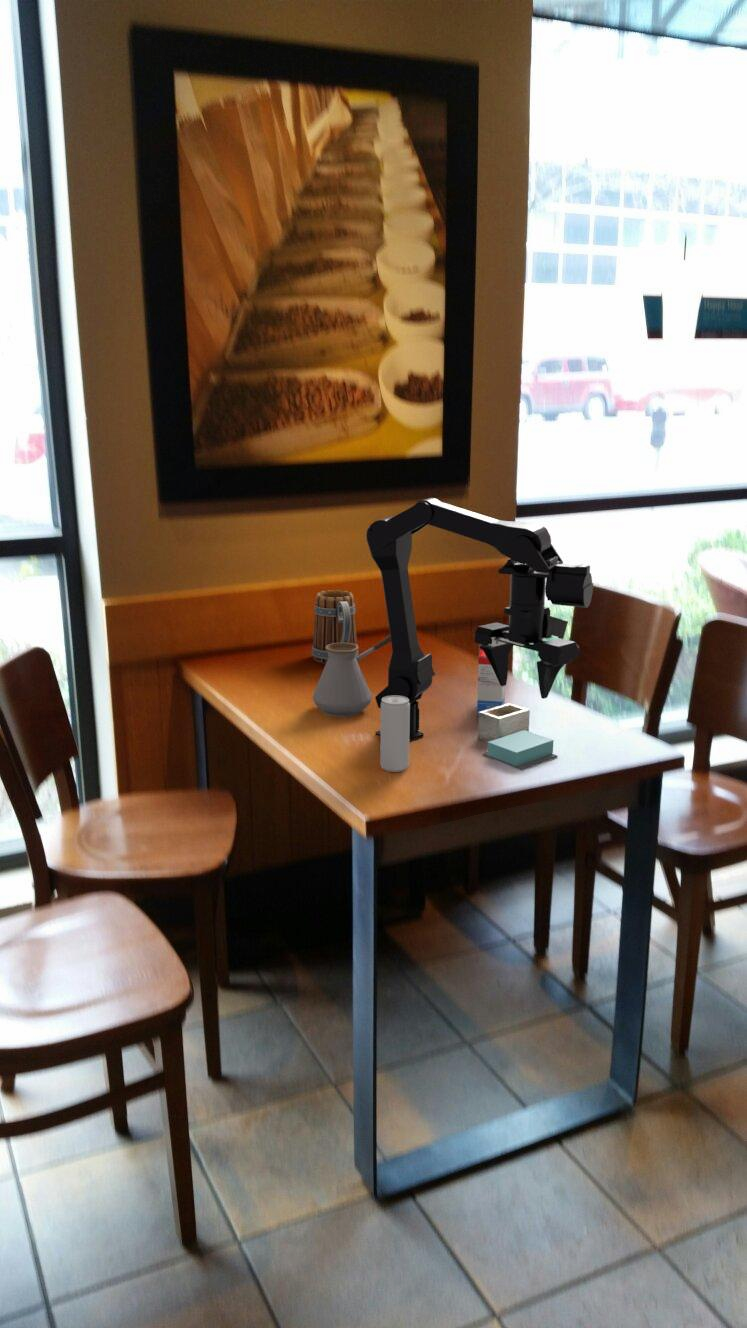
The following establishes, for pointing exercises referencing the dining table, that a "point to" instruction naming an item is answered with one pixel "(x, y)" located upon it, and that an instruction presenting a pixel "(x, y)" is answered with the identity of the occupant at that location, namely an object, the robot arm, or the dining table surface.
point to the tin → (502, 721)
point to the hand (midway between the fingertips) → (523, 691)
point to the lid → (520, 747)
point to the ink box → (488, 685)
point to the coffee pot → (344, 681)
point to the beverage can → (394, 733)
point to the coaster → (527, 764)
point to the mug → (333, 622)
